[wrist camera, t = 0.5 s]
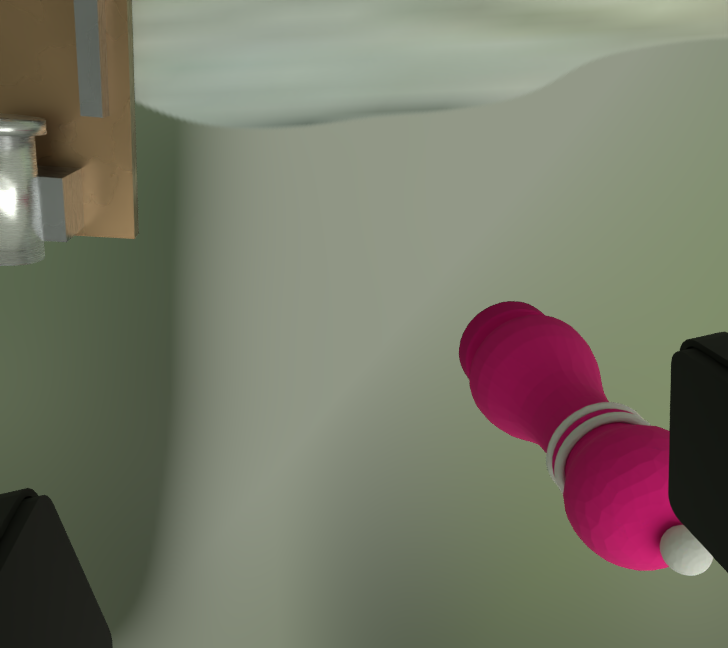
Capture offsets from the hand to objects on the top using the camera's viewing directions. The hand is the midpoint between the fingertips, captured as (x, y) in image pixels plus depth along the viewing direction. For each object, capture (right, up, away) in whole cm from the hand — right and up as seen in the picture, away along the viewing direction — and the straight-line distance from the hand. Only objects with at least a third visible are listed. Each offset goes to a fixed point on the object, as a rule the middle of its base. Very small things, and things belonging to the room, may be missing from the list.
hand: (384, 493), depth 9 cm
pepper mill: (+9, +1, +32) cm, 33 cm away
